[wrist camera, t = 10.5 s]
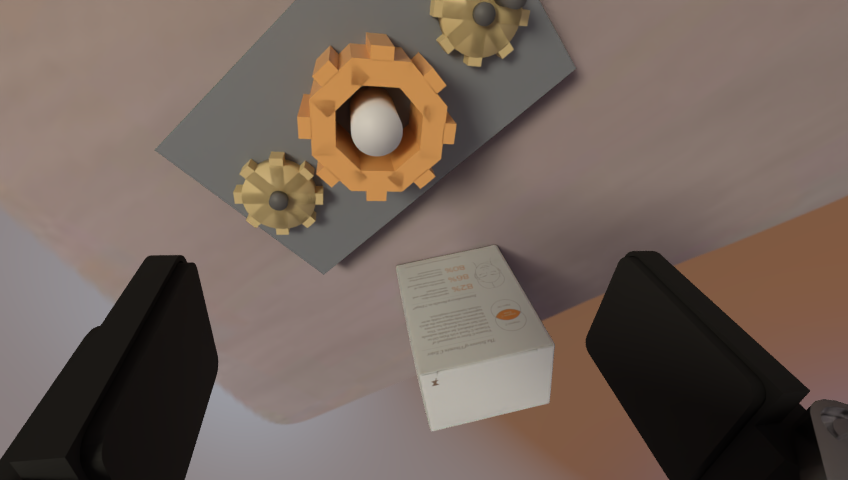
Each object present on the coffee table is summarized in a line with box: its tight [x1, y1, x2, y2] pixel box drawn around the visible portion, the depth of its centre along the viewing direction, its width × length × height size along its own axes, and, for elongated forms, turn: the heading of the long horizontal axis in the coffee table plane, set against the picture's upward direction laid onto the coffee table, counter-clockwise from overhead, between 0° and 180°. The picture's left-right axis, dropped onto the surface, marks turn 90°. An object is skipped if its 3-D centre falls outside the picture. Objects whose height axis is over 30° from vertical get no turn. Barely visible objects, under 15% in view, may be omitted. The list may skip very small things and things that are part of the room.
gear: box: [297, 32, 457, 201], centre depth 21 cm, size 7×7×4 cm
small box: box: [396, 245, 555, 432], centre depth 29 cm, size 8×6×10 cm
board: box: [155, 0, 576, 274], centre depth 22 cm, size 20×12×6 cm, turn 129°
